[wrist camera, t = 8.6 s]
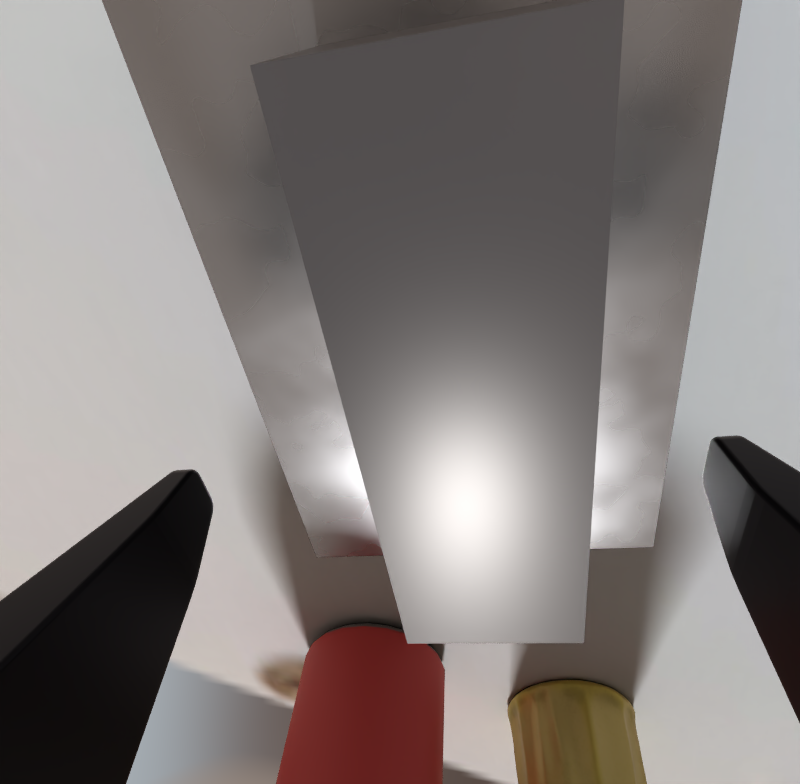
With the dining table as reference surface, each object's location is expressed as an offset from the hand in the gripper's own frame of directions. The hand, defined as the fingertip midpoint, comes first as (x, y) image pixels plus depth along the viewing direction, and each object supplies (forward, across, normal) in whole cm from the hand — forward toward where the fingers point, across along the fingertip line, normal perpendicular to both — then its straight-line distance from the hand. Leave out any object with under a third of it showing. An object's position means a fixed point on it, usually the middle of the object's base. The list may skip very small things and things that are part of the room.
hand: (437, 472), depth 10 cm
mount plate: (+7, 0, 0) cm, 7 cm away
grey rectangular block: (+6, -1, 0) cm, 6 cm away
